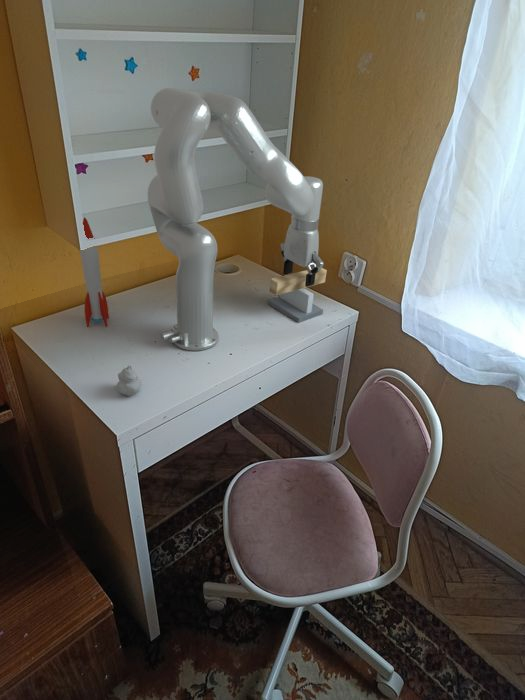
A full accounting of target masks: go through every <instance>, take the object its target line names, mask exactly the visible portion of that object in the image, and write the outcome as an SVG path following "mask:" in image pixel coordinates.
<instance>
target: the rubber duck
mask: <svg viewBox="0 0 525 700" xmlns="http://www.w3.org/2000/svg"><path fill="white" fill-rule="evenodd" d="M117 377H118V380H119V381H118V382H117V383H116V389H117V391H119V393H121V394H122V395H125V396H127V397H128V396H133V395H136V394H138V393H139V392H140V390H141V386H142V381H141V378H140V377H139V376H137V373H136V370H135V369H134V368H133V367H132V365H130V364H128V365H127V367H124V368H123V369H122V370H121V372H119V373H118V374H117Z"/></svg>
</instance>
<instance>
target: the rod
mask: <svg viewBox="0 0 525 700" xmlns="http://www.w3.org/2000/svg"><path fill="white" fill-rule="evenodd" d="M312 269H313V268H311V270H312ZM327 271H328V270H327V269H325V268H324V267H322V268H321V270H320V271H319V272H318V273H316V275H315V283H314V285H312V286H309V287H313V286H316V285H319V284H323V283H326V277H327ZM307 274H308V271H307V269H306V270H303V271H297V272H294V273H293V272H292V273H289V274H286V275H281V276H277V277H274V278H273V277H272V278H270V283H269V284H270V285H269V292H270V293H271V294H273V295H275V296H281V294H283V293H287V292H291V291H295V290H298V289H302V288H304V289H305V288H307V287H306V286H305V282H306V275H307ZM309 287H308V288H309Z"/></svg>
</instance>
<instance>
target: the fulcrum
mask: <svg viewBox="0 0 525 700" xmlns="http://www.w3.org/2000/svg"><path fill="white" fill-rule="evenodd" d="M267 304H268V305H269V306H270V307H273V308H274V309H276V310H277V311H278V312H281V313H282V314H283V315H285V316H287V317H288V318H290V319H292V320H293V321H295V322H296V323H298V324H299V323H301V322H302V323H303V322H304V321H307V320H311V319H312V318H317V317H319V316H321V315H323V313H324V309H322V308H321V307H319V306H317V305H316V304H314V293H313V292H311V291H309V290H307V289H305V288H302V289H298V290H295V291H291V292H287V293H283V294H280V295H278V296H276V297H273V298H269V299H268V303H267Z"/></svg>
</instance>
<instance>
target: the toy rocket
mask: <svg viewBox="0 0 525 700" xmlns="http://www.w3.org/2000/svg"><path fill="white" fill-rule="evenodd" d="M82 224H83V225H84V231H85V235H86V237H87V238H88V239H89V238H93V237H94V234H93V232H92V230H91V227H90V224H89V222H88V219H87V218H86V217H83V219H82ZM94 238H95V237H94ZM79 252H80V253H79V254H80V259H81V266H82V271H83V277H84V283H85V290H86V295H85V301H84V318H85V323H86V328H89V327H90V322H91V321H92V322H94V323H99V322H103V324H104V326H105V327H106V328H108V319H110V315H109V306H108V301H107V299H106V294H105V292H103V289H102V277H101V269H100V259H99V258H100V256H99V249H98V245H97V246H93V247H90V248H87V249H85V250H80V249H79Z"/></svg>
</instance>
